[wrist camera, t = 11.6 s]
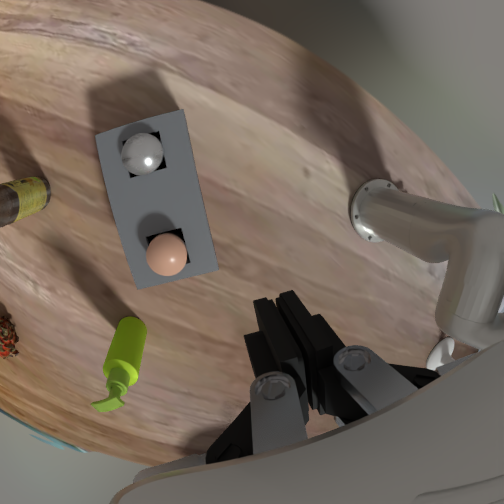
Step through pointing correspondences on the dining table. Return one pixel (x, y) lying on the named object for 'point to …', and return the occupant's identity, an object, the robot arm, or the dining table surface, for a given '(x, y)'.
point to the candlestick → (441, 354)
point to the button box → (157, 198)
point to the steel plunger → (142, 154)
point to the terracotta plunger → (167, 253)
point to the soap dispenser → (122, 362)
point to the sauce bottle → (22, 198)
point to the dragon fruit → (7, 338)
